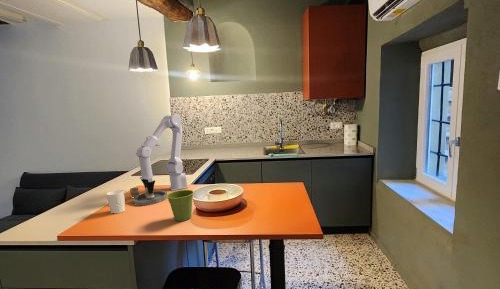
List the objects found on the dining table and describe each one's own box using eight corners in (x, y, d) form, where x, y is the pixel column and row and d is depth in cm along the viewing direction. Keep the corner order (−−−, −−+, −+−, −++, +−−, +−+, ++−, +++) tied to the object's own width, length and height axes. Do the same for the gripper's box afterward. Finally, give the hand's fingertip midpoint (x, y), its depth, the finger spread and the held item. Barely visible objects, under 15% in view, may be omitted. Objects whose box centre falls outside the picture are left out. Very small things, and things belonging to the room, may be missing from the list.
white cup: (106, 213, 145) (102, 194, 144) (119, 207, 152) (116, 189, 151) (116, 215, 142) (113, 195, 140) (130, 209, 148) (127, 190, 147)
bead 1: (139, 194, 172) (138, 186, 171) (139, 197, 168) (138, 188, 167) (131, 196, 170) (129, 188, 170) (131, 198, 166) (129, 190, 165)
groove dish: (165, 192, 172) (165, 188, 172) (169, 200, 156) (168, 196, 155) (133, 198, 166) (133, 194, 165) (133, 208, 149) (132, 203, 149)
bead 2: (154, 194, 168) (152, 185, 167) (154, 196, 164) (153, 187, 163) (145, 195, 166) (144, 187, 166) (146, 198, 162) (144, 189, 161)
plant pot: (200, 218, 127) (197, 193, 126) (173, 226, 122) (170, 200, 120) (192, 210, 138) (189, 187, 136) (166, 217, 132) (163, 193, 130)
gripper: (136, 167, 167) (139, 190, 169) (141, 172, 155) (145, 196, 157) (148, 165, 171) (152, 188, 173) (154, 169, 158) (158, 193, 160)
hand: (149, 192), depth 165 cm, fingers open, 7 cm apart
